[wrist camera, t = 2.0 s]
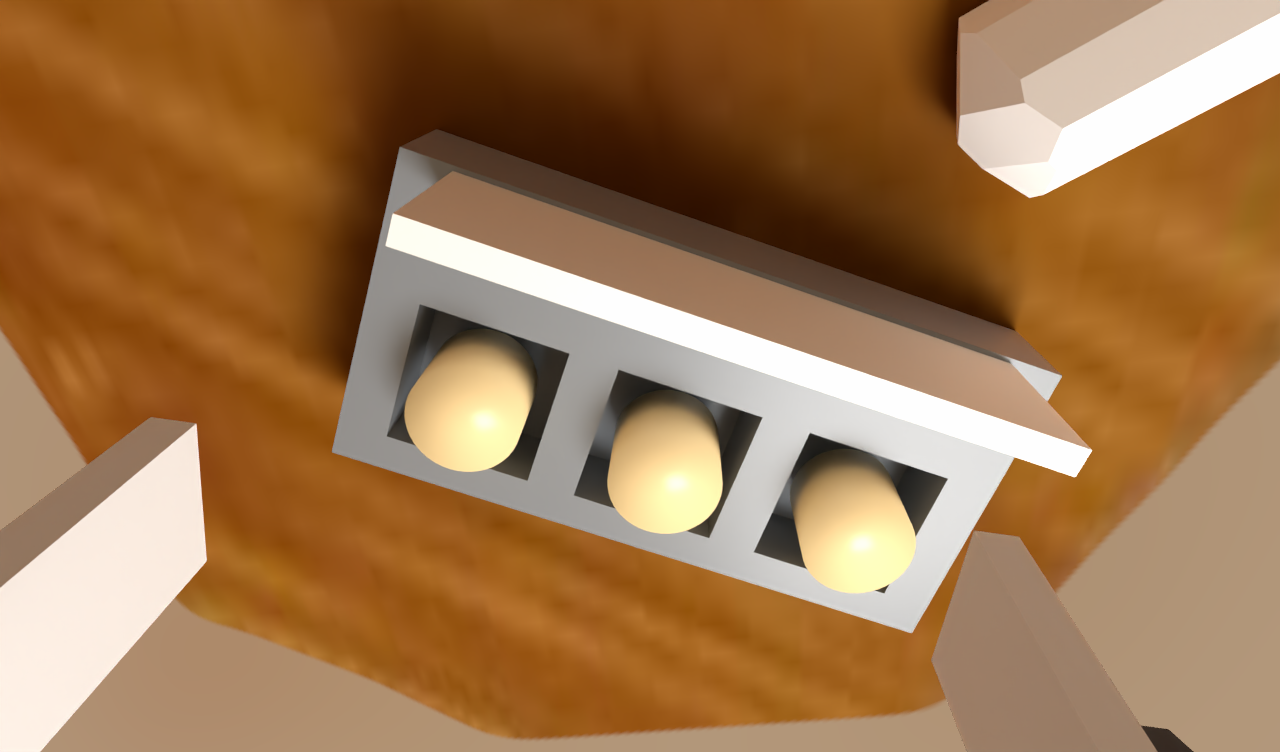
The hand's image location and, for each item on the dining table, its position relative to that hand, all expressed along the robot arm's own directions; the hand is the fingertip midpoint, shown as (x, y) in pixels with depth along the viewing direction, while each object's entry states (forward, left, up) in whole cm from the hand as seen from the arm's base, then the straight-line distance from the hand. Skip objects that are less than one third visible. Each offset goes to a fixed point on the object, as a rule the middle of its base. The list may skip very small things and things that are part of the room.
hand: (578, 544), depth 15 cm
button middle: (+4, -7, -21) cm, 22 cm away
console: (+4, -5, -24) cm, 25 cm away
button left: (-4, -7, -20) cm, 22 cm away
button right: (+12, -7, -21) cm, 25 cm away
